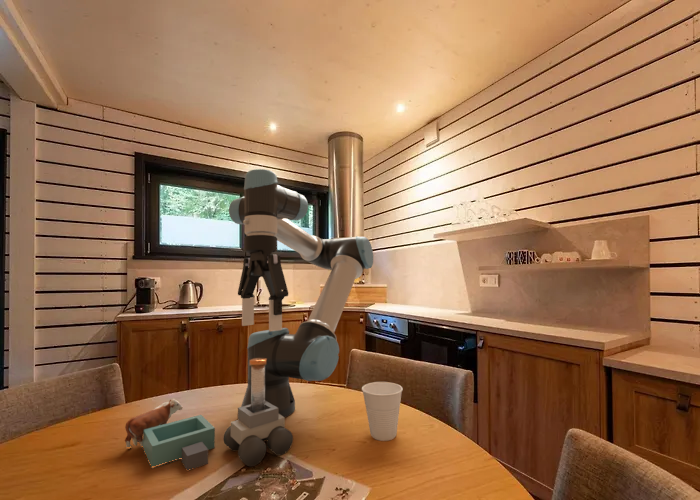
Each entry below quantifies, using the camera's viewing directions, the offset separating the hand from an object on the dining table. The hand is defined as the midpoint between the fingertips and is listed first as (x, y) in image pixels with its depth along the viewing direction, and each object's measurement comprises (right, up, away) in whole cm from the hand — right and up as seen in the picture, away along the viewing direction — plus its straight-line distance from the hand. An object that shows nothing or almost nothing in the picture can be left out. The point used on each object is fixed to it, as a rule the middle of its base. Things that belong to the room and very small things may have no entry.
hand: (260, 327), depth 76 cm
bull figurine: (-27, -28, +3) cm, 39 cm away
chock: (-12, -27, -7) cm, 30 cm away
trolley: (0, -27, -3) cm, 27 cm away
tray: (-18, -27, -1) cm, 33 cm away
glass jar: (0, -20, -2) cm, 20 cm away
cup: (+29, -27, +3) cm, 39 cm away
